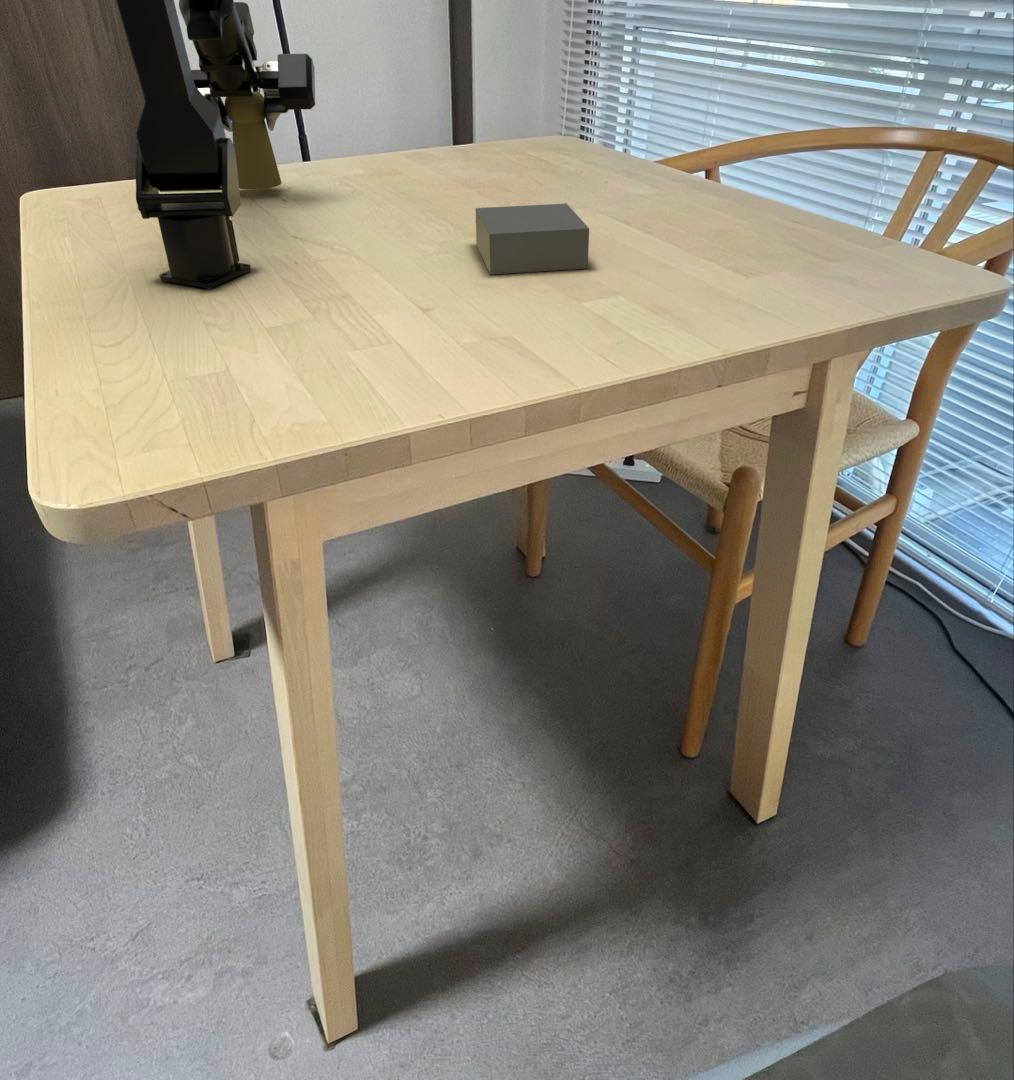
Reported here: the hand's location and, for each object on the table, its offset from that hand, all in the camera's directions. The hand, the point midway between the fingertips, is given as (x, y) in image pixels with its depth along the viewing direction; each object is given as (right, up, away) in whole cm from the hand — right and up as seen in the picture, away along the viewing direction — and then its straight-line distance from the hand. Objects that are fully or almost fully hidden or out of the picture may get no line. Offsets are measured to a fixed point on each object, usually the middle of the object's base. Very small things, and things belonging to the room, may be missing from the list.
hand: (251, 128), depth 112 cm
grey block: (+35, -24, -21) cm, 47 cm away
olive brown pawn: (0, -6, +3) cm, 7 cm away
